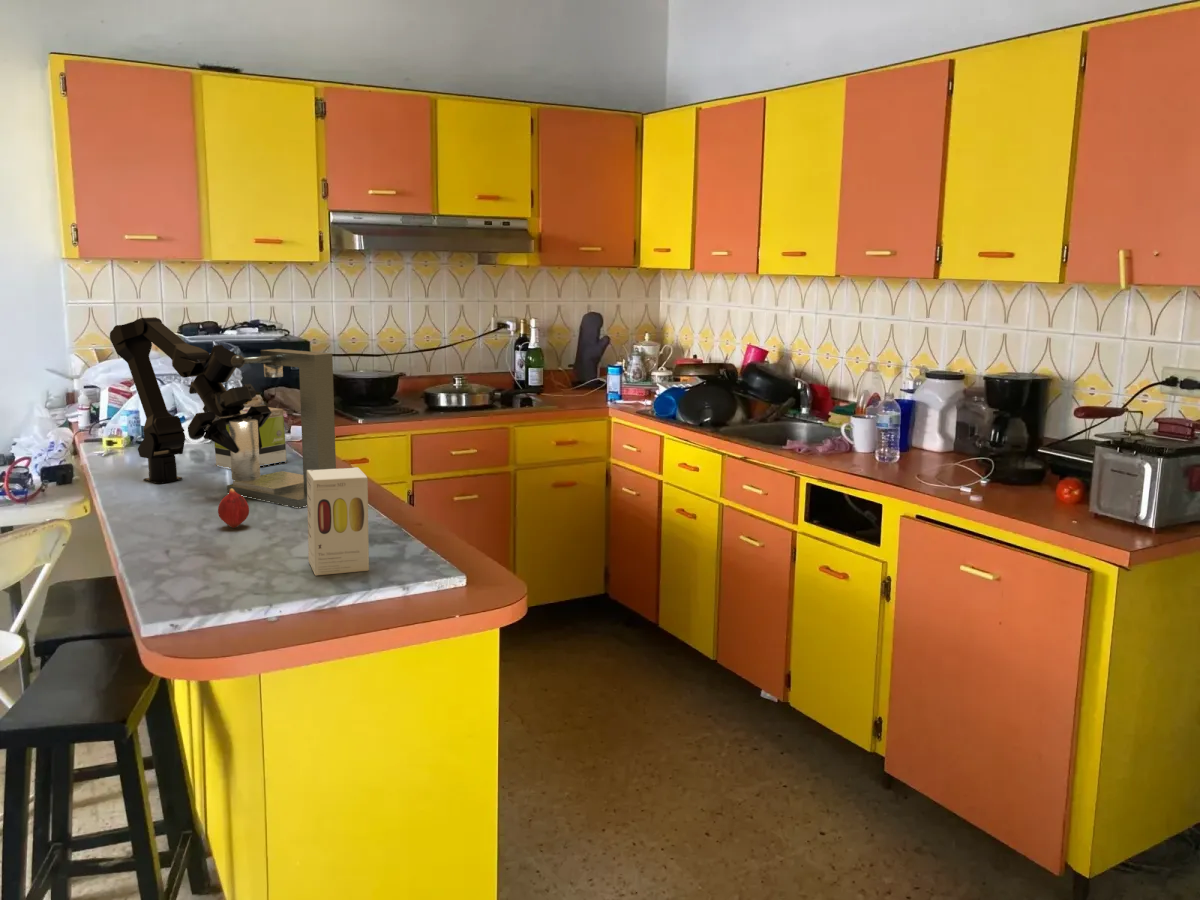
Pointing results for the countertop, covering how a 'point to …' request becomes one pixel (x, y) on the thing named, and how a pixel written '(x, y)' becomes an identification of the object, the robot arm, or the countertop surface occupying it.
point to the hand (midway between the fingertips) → (248, 449)
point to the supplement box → (337, 520)
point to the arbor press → (313, 422)
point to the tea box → (270, 439)
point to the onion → (233, 509)
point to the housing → (245, 449)
